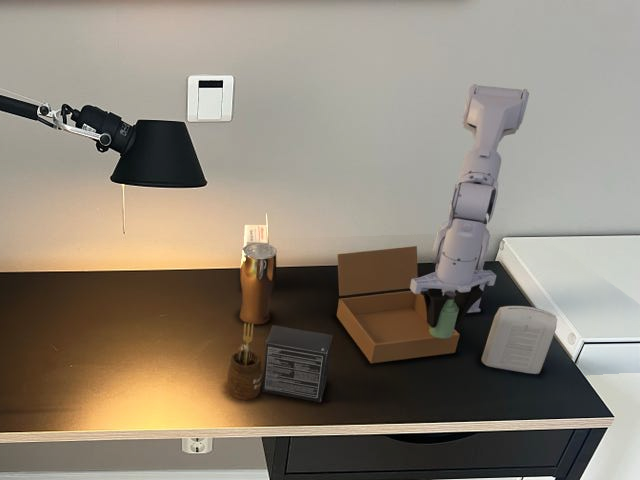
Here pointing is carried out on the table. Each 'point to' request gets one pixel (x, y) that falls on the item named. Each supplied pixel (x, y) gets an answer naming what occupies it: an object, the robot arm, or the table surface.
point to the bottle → (446, 318)
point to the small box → (296, 363)
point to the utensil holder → (245, 371)
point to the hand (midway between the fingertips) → (442, 323)
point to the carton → (392, 326)
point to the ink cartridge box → (256, 234)
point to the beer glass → (257, 281)
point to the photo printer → (519, 339)
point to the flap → (377, 270)
